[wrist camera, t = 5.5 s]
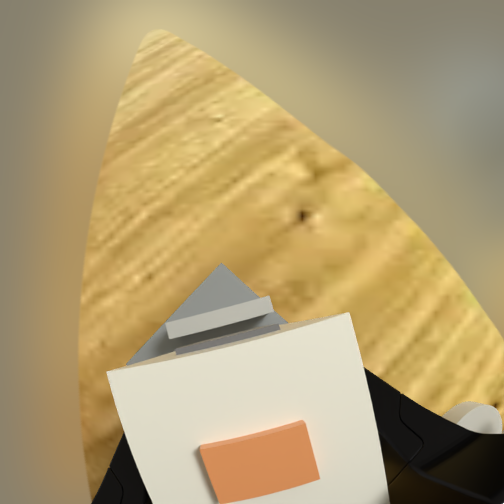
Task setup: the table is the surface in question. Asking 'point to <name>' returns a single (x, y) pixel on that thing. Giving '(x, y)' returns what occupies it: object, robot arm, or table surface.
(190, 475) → the white block orange patch
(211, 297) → the plate
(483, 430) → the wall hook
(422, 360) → the table surface
